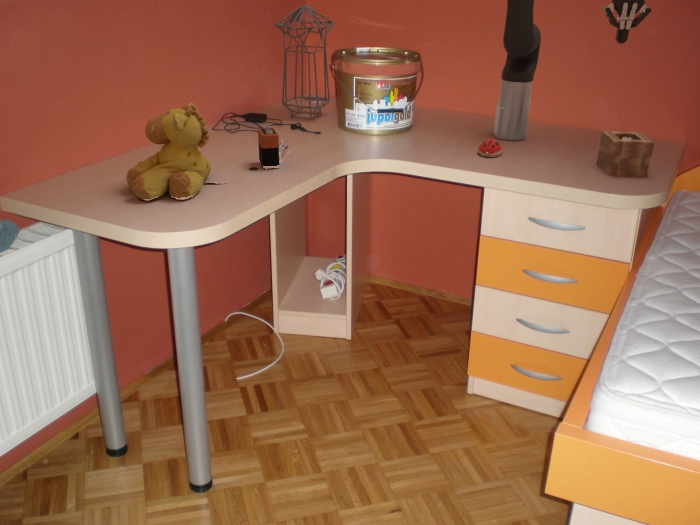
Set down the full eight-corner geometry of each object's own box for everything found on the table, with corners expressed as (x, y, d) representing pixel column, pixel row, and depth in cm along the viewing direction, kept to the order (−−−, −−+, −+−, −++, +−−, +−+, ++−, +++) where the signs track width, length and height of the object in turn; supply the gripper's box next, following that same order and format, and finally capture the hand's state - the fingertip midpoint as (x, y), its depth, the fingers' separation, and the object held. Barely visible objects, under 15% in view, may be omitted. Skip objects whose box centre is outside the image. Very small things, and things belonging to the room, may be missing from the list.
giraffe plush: (121, 181, 160) (110, 102, 152) (216, 168, 170) (210, 93, 162) (138, 209, 144) (126, 122, 135) (241, 193, 154) (237, 111, 145)
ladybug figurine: (503, 150, 190) (504, 138, 188) (499, 160, 181) (501, 147, 180) (479, 148, 191) (480, 136, 190) (475, 157, 183) (476, 145, 181)
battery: (275, 161, 176) (273, 124, 172) (280, 168, 170) (278, 130, 166) (258, 162, 175) (257, 125, 171) (263, 170, 169) (261, 131, 165)
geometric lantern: (336, 113, 225) (336, 4, 210) (317, 124, 212) (317, 8, 197) (294, 109, 230) (292, 1, 215) (273, 119, 217) (269, 5, 202)
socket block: (607, 175, 170) (614, 141, 166) (596, 163, 179) (602, 131, 175) (646, 176, 170) (654, 142, 166) (633, 164, 179) (640, 132, 175)
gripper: (653, -25, 179) (639, 41, 186) (604, -26, 179) (592, 40, 187) (663, -24, 172) (649, 45, 180) (612, -25, 172) (600, 44, 180)
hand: (620, 43), depth 183 cm, fingers closed
